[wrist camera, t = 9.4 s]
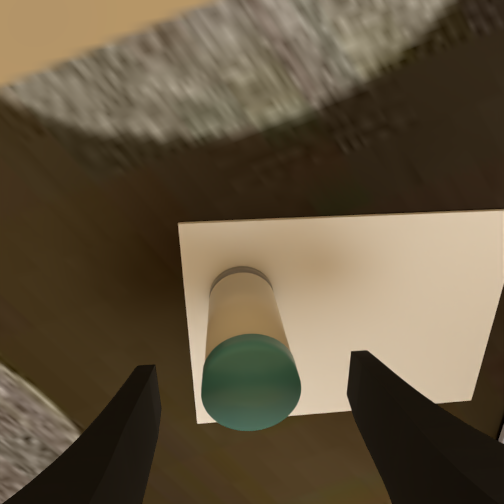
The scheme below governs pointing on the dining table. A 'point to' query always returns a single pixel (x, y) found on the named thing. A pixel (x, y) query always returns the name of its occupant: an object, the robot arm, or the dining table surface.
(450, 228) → the paper
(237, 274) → the green lidded jar
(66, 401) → the dining table surface
